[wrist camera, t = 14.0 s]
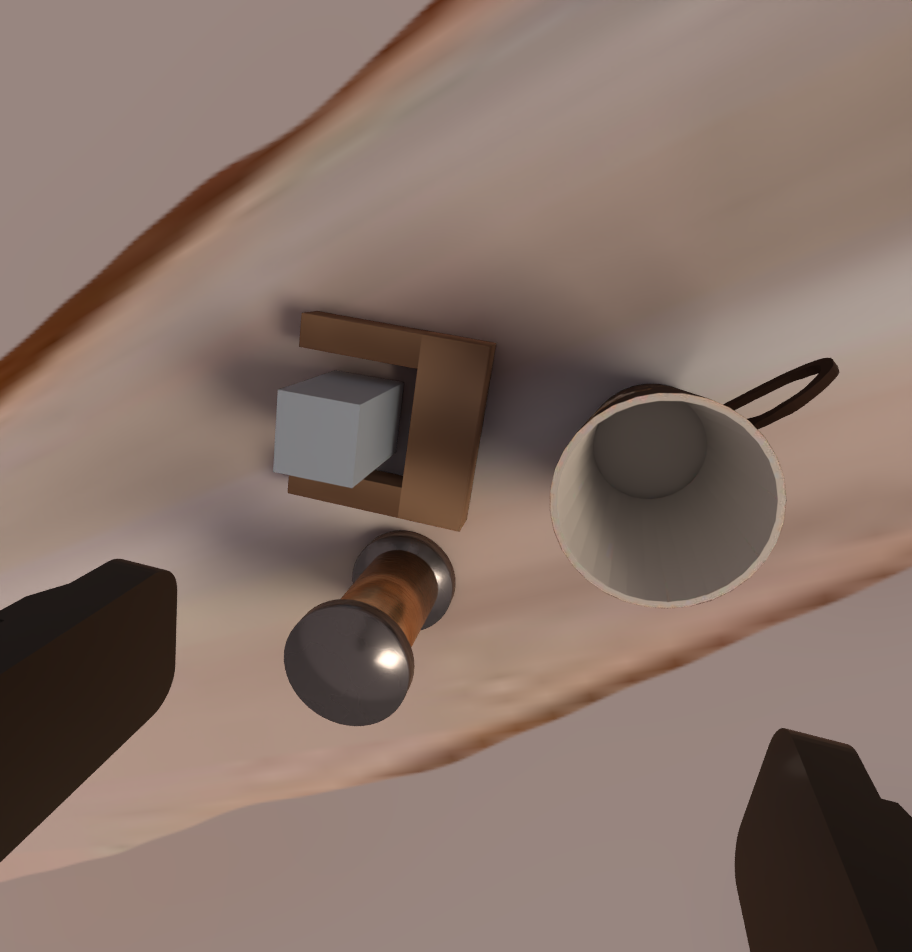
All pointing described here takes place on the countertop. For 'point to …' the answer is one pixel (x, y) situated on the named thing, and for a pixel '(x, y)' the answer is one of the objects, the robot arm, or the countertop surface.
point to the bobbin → (370, 631)
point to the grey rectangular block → (336, 427)
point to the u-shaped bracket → (414, 418)
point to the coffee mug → (674, 491)
